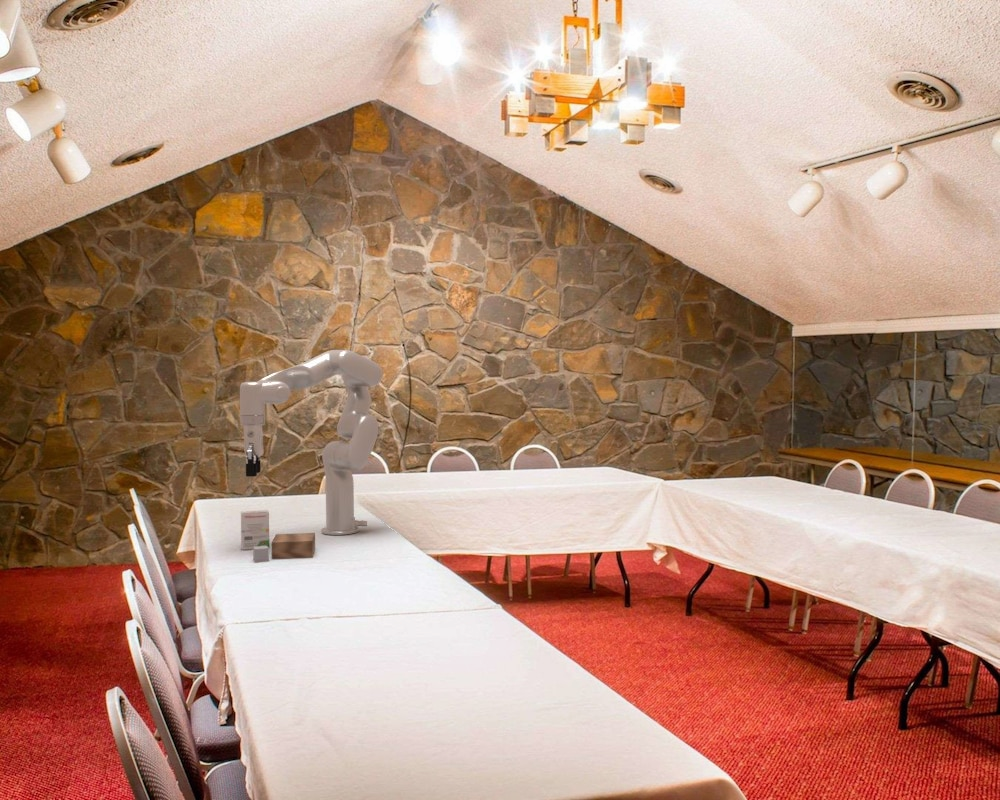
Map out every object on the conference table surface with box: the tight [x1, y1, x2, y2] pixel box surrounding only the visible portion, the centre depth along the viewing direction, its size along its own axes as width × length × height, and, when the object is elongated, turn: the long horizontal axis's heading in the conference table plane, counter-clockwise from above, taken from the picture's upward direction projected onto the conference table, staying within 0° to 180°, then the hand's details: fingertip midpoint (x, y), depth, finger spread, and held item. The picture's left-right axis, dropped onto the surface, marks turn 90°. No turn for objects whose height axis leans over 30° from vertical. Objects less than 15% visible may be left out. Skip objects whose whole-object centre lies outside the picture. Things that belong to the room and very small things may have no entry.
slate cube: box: [252, 546, 270, 563], centre depth 274 cm, size 4×4×4 cm
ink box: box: [240, 509, 270, 551], centre depth 292 cm, size 8×5×12 cm, turn 108°
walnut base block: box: [271, 532, 316, 560], centre depth 283 cm, size 12×13×5 cm
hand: (253, 474), depth 291 cm, fingers open, 9 cm apart
